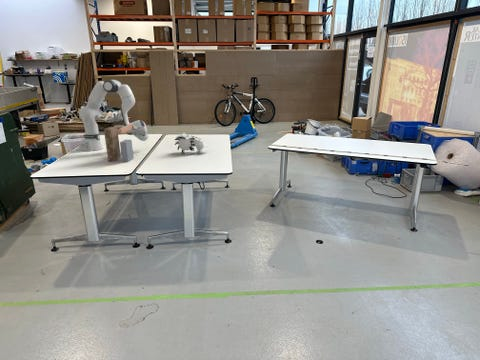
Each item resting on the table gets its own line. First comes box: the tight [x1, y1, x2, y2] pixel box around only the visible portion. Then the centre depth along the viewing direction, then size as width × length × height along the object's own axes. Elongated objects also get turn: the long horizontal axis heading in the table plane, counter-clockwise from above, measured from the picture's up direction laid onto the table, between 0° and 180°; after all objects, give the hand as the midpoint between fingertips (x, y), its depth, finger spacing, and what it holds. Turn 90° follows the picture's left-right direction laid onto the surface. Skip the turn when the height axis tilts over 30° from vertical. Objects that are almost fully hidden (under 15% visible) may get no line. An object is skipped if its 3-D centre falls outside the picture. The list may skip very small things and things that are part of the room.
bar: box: [117, 124, 134, 134], centre depth 266 cm, size 3×22×3 cm, turn 173°
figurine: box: [174, 132, 210, 155], centre depth 292 cm, size 17×16×30 cm
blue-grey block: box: [119, 139, 135, 163], centre depth 268 cm, size 5×10×16 cm, turn 173°
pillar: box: [103, 126, 122, 162], centre depth 268 cm, size 6×10×26 cm, turn 172°
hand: (130, 126), depth 273 cm, fingers closed on bar, 3 cm apart
